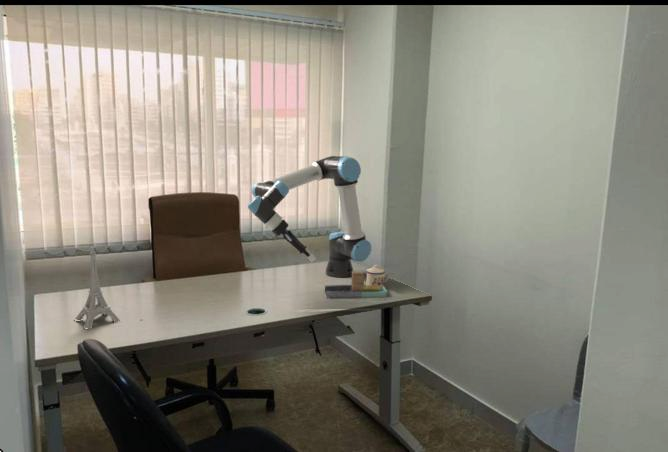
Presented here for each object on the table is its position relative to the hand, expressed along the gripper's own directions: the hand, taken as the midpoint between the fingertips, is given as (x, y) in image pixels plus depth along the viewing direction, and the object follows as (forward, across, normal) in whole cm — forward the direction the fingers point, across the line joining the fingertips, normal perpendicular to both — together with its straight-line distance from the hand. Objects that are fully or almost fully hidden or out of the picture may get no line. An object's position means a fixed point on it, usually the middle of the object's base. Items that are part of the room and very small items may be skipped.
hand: (313, 260), depth 229 cm
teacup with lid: (+36, -12, +10) cm, 39 cm away
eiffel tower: (-50, +26, -74) cm, 93 cm away
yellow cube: (+33, 0, +8) cm, 34 cm away
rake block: (+26, 0, +3) cm, 26 cm away
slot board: (+22, 0, -3) cm, 22 cm away
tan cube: (+30, 0, +6) cm, 30 cm away
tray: (+32, 0, +7) cm, 33 cm away
